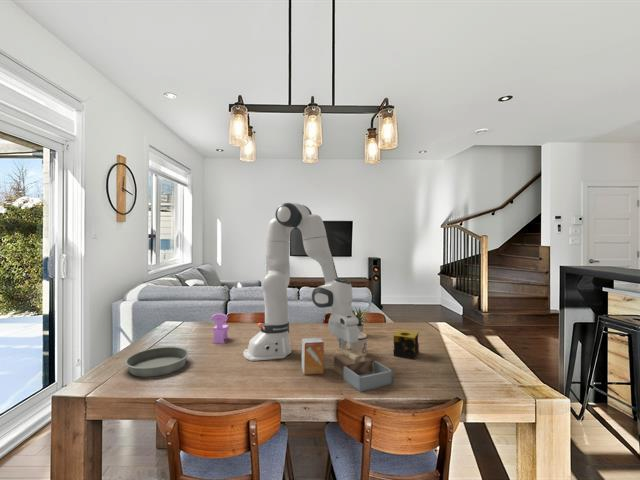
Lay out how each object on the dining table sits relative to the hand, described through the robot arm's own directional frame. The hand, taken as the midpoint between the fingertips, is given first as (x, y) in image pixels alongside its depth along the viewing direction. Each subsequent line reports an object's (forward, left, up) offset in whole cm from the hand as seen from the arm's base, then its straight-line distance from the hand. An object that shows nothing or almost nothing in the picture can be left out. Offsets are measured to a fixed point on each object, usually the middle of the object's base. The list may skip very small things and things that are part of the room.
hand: (342, 348), depth 149 cm
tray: (0, -20, -7) cm, 21 cm away
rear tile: (0, -7, -1) cm, 7 cm away
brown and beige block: (0, -9, -7) cm, 12 cm away
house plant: (+29, +31, -7) cm, 43 cm away
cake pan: (-72, +31, -7) cm, 79 cm away
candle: (+33, -3, -7) cm, 34 cm away
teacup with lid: (+13, +8, -7) cm, 17 cm away
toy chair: (-42, +55, -7) cm, 70 cm away
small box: (-15, -2, -7) cm, 17 cm away
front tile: (0, -12, -1) cm, 12 cm away
